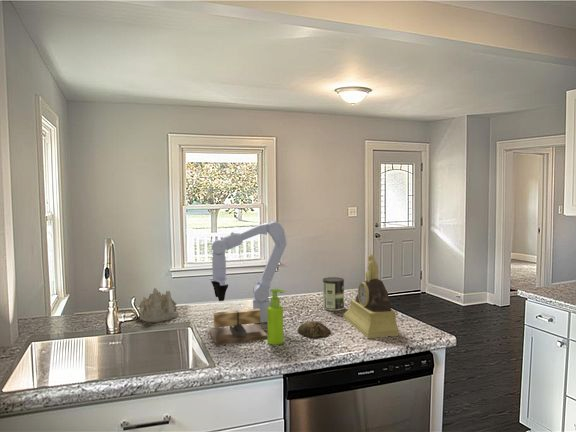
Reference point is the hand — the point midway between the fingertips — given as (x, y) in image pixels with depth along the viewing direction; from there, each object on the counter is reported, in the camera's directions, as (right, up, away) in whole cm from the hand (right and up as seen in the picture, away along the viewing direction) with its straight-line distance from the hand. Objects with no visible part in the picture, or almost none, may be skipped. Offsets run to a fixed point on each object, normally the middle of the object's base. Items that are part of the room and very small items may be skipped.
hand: (219, 298), depth 187 cm
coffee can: (+52, -9, +22) cm, 57 cm away
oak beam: (+10, -7, -17) cm, 21 cm away
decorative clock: (+63, -10, -7) cm, 65 cm away
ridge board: (+10, -11, -17) cm, 22 cm away
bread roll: (+40, -11, -15) cm, 44 cm away
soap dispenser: (+25, -12, -25) cm, 38 cm away
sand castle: (-30, -11, +11) cm, 34 cm away
